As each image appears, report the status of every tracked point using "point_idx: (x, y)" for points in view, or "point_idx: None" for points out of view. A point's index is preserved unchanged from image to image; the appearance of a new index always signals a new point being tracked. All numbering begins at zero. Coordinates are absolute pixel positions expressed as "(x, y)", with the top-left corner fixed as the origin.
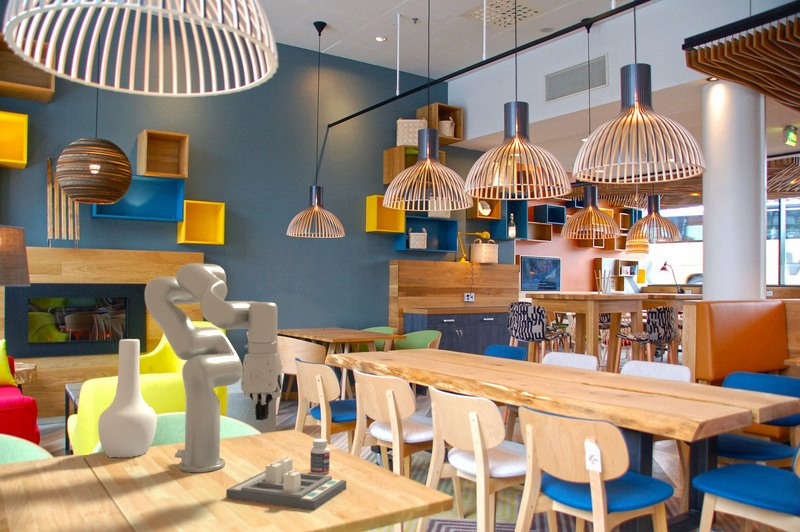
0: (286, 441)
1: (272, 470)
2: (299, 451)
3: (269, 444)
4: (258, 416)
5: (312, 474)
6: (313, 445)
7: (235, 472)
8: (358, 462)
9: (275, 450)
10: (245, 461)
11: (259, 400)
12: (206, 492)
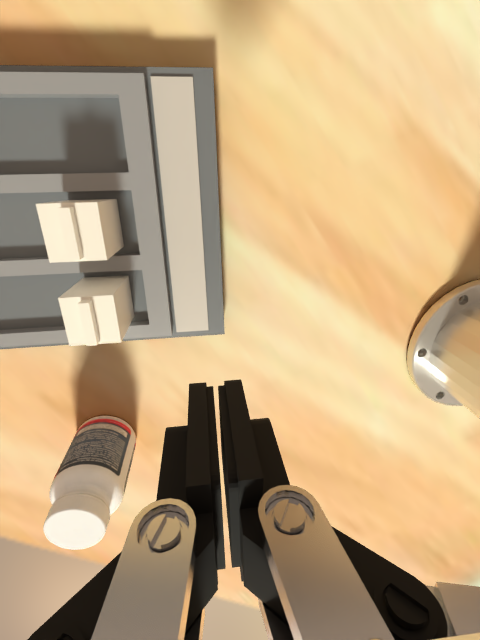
0: None
1: (63, 202)
2: None
3: (387, 557)
4: (219, 397)
5: (14, 343)
6: (96, 496)
7: (345, 339)
8: None
9: (346, 530)
10: (373, 431)
11: (262, 567)
12: (319, 112)
